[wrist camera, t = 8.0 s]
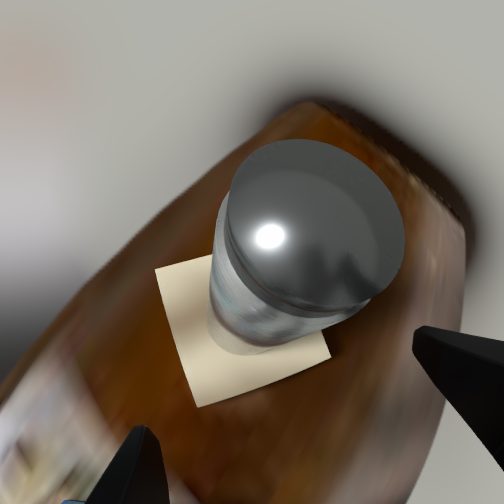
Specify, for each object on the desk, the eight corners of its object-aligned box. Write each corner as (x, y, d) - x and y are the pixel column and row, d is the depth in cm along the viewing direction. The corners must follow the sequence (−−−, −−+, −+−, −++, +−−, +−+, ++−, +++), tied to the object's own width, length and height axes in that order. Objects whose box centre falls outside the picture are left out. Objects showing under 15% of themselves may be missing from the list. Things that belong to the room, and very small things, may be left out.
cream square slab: (320, 359, 21) (331, 357, 19) (197, 404, 18) (197, 407, 16) (276, 246, 24) (282, 236, 23) (158, 278, 22) (155, 269, 20)
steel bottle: (295, 323, 20) (434, 232, 7) (239, 371, 18) (330, 365, 5) (247, 268, 21) (316, 116, 8) (190, 311, 19) (175, 185, 6)
